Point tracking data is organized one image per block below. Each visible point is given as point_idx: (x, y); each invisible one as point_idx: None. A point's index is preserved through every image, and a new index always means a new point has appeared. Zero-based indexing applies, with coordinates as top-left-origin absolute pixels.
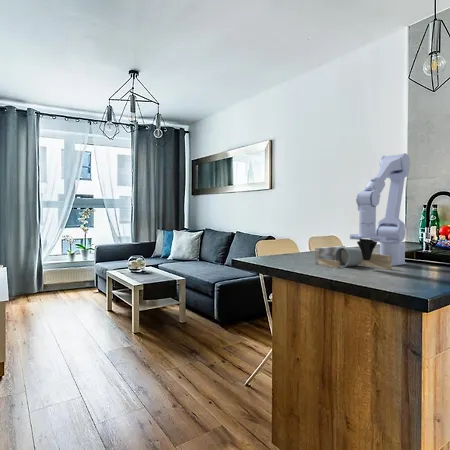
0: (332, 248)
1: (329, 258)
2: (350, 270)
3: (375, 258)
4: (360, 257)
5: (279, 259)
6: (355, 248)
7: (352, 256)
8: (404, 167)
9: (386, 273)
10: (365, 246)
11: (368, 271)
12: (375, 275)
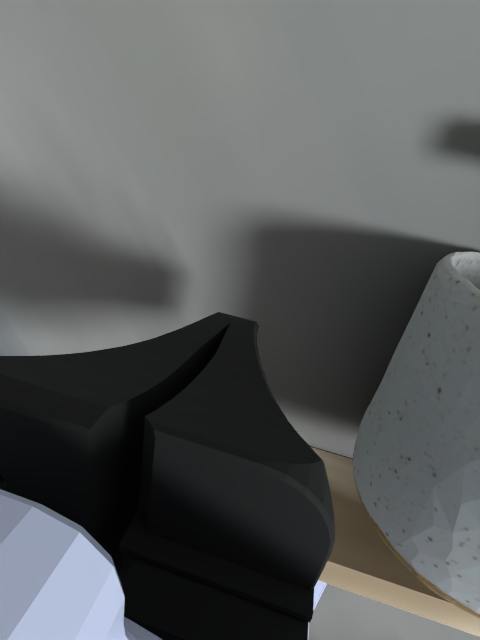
0: None
1: None
2: (338, 116)
3: None
4: (359, 444)
5: None
6: (473, 572)
7: (421, 342)
8: None
9: (54, 236)
10: (104, 365)
11: (185, 213)
12: (30, 55)
